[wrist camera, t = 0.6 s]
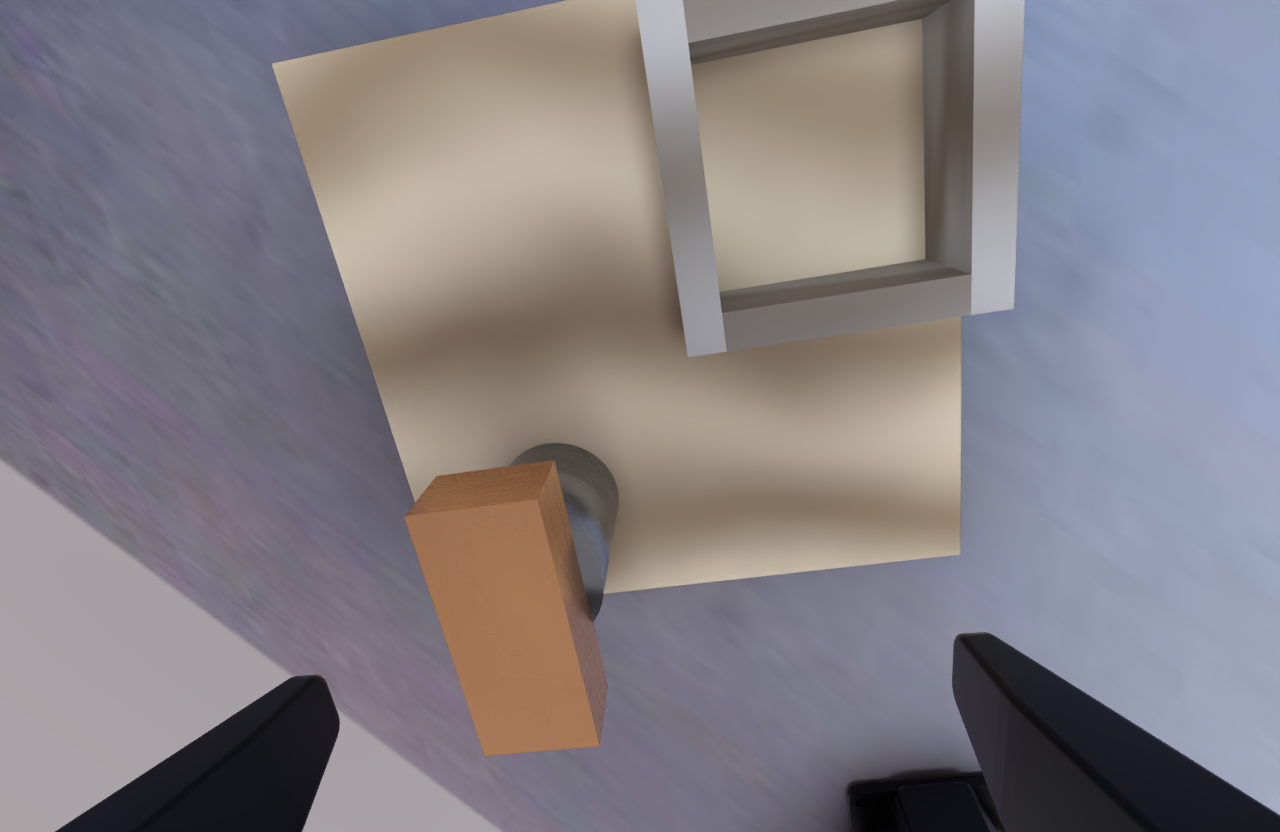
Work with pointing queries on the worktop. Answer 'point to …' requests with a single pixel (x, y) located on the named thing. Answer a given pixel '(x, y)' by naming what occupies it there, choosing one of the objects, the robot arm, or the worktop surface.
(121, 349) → the worktop surface
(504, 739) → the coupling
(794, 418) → the base
